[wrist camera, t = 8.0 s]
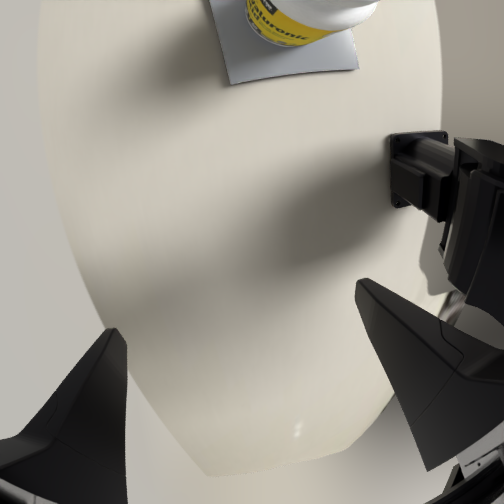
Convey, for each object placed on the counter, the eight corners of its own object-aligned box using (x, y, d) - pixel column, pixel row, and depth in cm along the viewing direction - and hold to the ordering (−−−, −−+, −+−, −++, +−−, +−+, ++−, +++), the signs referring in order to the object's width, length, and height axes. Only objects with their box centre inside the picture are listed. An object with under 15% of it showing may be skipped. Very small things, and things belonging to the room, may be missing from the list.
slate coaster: (329, -33, 11) (332, -36, 10) (355, 69, 16) (359, 69, 15) (202, -24, 11) (202, -28, 10) (230, 84, 16) (231, 84, 15)
